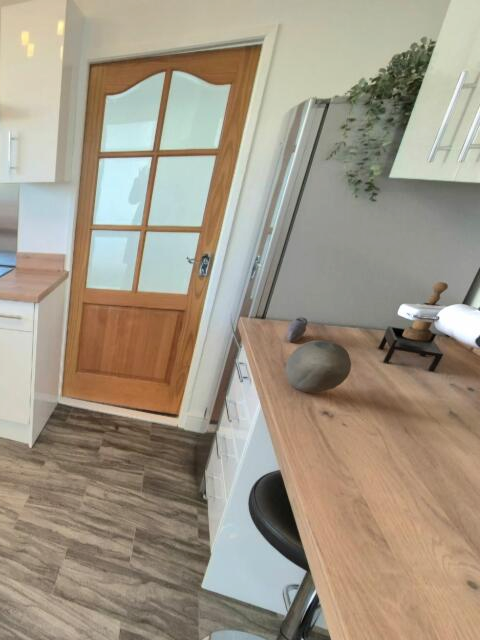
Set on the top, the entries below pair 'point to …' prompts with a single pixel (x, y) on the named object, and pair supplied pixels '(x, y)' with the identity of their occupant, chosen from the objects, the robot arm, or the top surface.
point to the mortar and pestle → (422, 328)
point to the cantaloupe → (318, 366)
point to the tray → (410, 346)
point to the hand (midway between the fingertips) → (428, 307)
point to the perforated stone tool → (296, 329)
